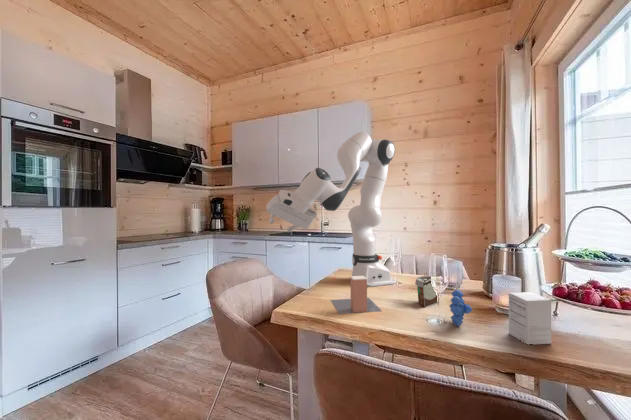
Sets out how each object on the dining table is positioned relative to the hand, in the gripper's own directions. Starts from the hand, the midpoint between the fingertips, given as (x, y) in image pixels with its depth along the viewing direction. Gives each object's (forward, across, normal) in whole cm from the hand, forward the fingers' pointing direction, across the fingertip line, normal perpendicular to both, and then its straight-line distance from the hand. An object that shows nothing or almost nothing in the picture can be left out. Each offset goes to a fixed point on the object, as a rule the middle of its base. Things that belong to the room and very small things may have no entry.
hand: (279, 226), depth 119 cm
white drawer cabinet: (-38, -53, +63) cm, 91 cm away
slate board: (0, -30, +32) cm, 44 cm away
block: (-3, -28, +36) cm, 45 cm away
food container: (-16, -54, +34) cm, 66 cm away
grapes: (-26, -46, +53) cm, 74 cm away
